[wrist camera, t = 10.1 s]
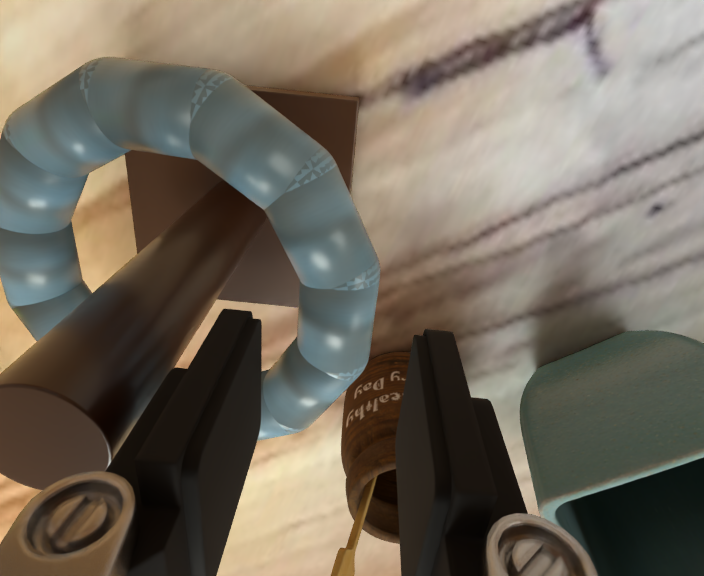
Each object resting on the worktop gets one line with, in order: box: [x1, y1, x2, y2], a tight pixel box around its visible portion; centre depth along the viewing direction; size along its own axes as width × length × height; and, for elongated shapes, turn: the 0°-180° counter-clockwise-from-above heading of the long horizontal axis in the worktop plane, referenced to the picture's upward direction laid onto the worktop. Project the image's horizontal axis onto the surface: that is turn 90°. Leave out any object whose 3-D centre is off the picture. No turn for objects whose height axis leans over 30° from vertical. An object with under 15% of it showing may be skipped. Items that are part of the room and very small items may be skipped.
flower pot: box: [520, 330, 704, 576], centre depth 20 cm, size 9×9×9 cm
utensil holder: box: [331, 352, 410, 576], centre depth 20 cm, size 6×6×12 cm
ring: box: [0, 57, 380, 441], centre depth 13 cm, size 11×11×2 cm
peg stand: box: [0, 85, 360, 490], centre depth 14 cm, size 9×9×14 cm
